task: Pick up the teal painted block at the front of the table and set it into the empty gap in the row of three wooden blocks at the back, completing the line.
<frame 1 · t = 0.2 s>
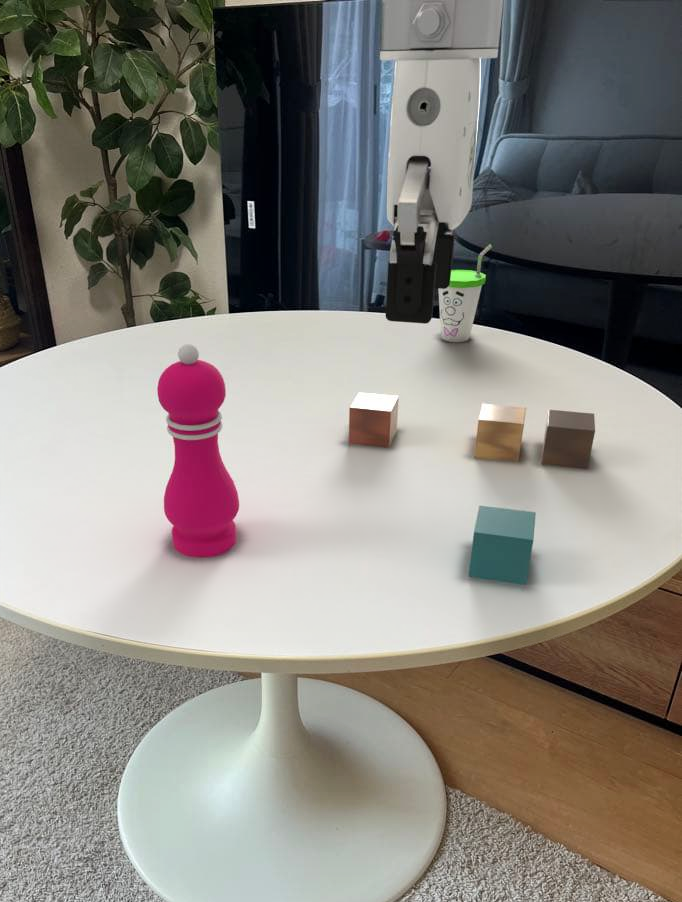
hand: (419, 302, 59), 25 cm above the table, tool pointing down, fingers open, 9 cm apart
cup: (454, 340, 130), on the table
walnut block: (563, 459, 91), on the table
oak block: (497, 452, 93), on the table
teal block: (498, 568, 73), on the table
cherry block: (372, 439, 97), on the table
pepper mill: (205, 544, 78), on the table
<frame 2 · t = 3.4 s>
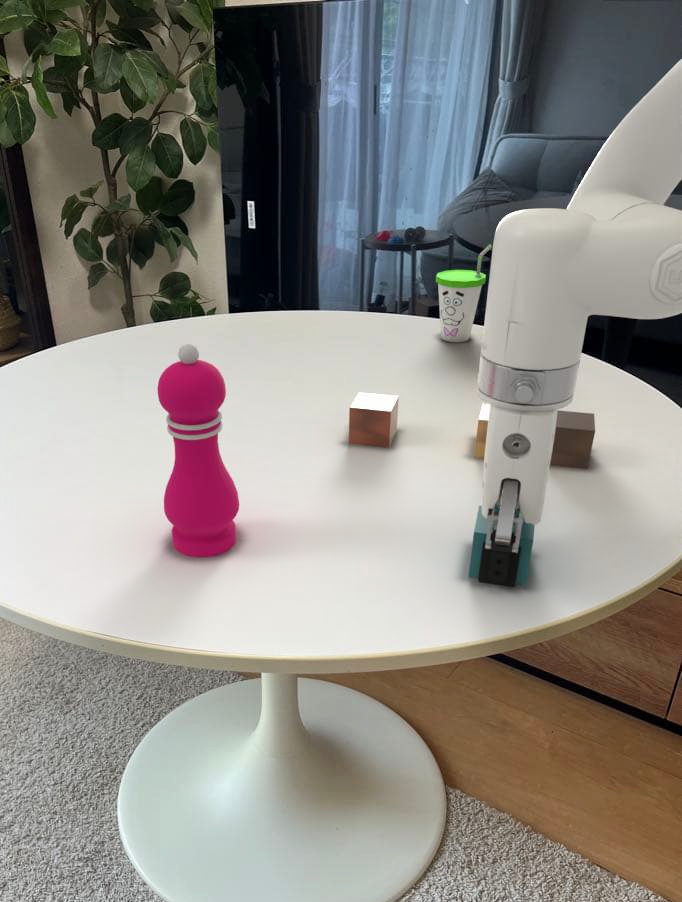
hand: (499, 564, 72), 0 cm above the table, tool pointing down, fingers closed on teal block, 5 cm apart
teal block: (498, 568, 73), on the table, touching gripper
everything else where it was.
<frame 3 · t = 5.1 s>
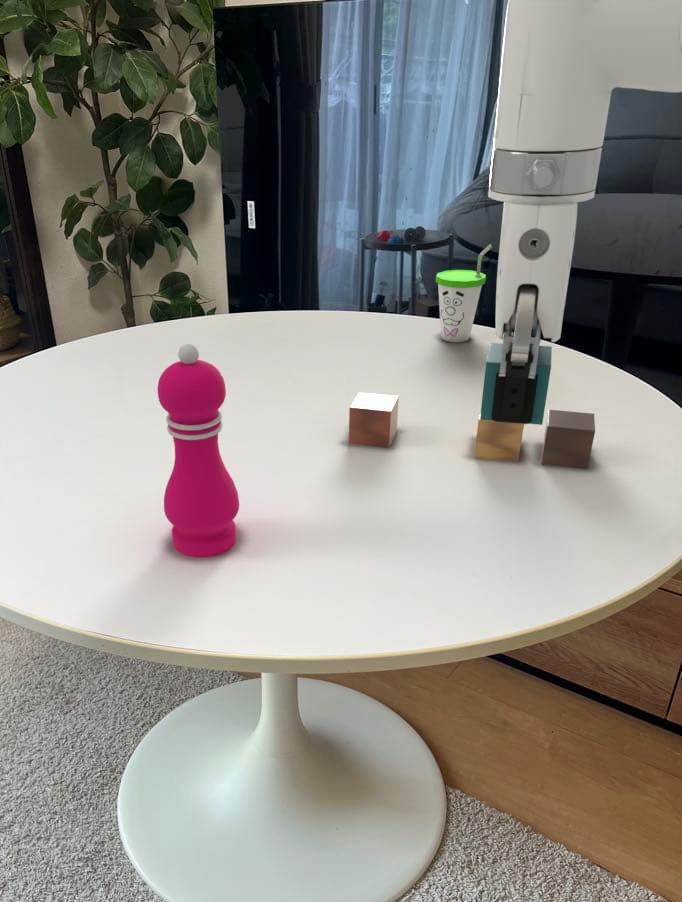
hand: (512, 406, 67), 15 cm above the table, tool pointing down, fingers closed on teal block, 5 cm apart
teal block: (512, 410, 67), point 14 cm above the table, touching gripper
everything else where it was.
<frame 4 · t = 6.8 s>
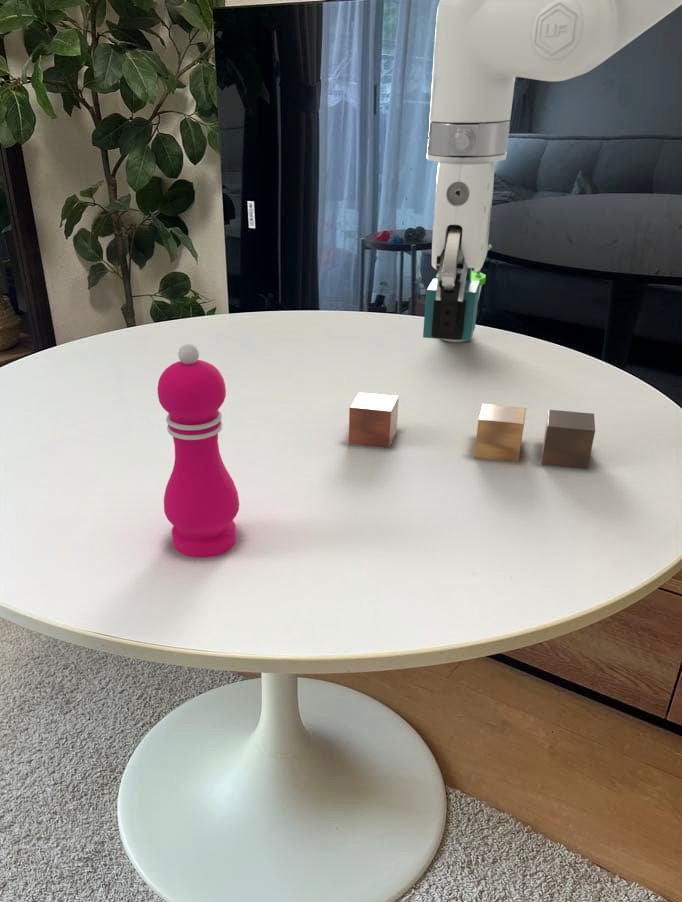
hand: (450, 328, 85), 15 cm above the table, tool pointing down, fingers closed on teal block, 5 cm apart
teal block: (449, 332, 85), point 15 cm above the table, touching gripper
everything else where it was.
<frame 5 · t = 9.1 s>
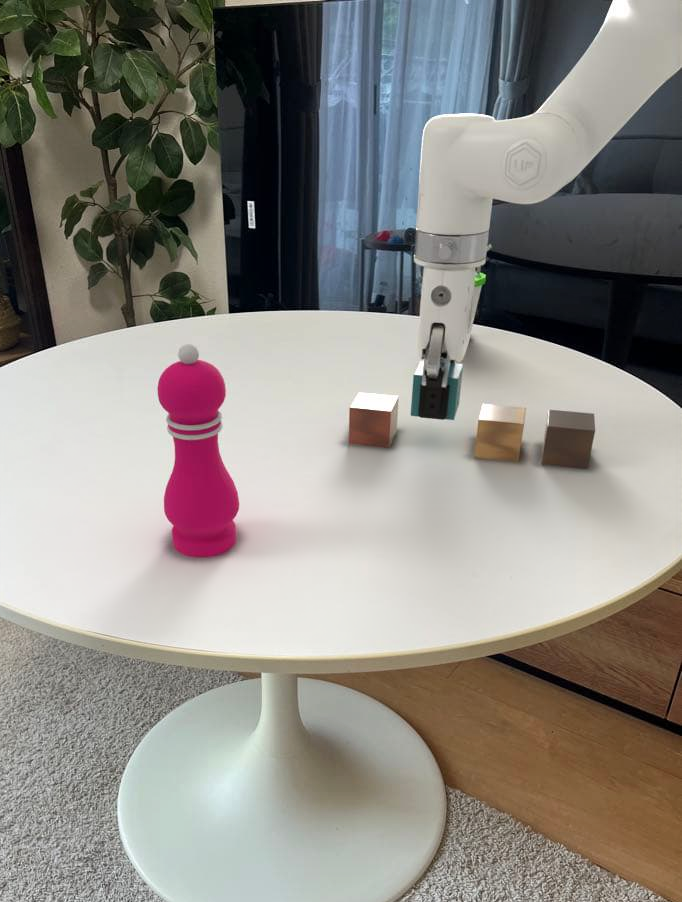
hand: (435, 406, 93), 5 cm above the table, tool pointing down, fingers closed on teal block, 5 cm apart
teal block: (435, 410, 93), point 5 cm above the table, touching gripper
everything else where it was.
when the fingers open (0 cm above the table, at t = 10.6 s): teal block stays where it is, on the table.
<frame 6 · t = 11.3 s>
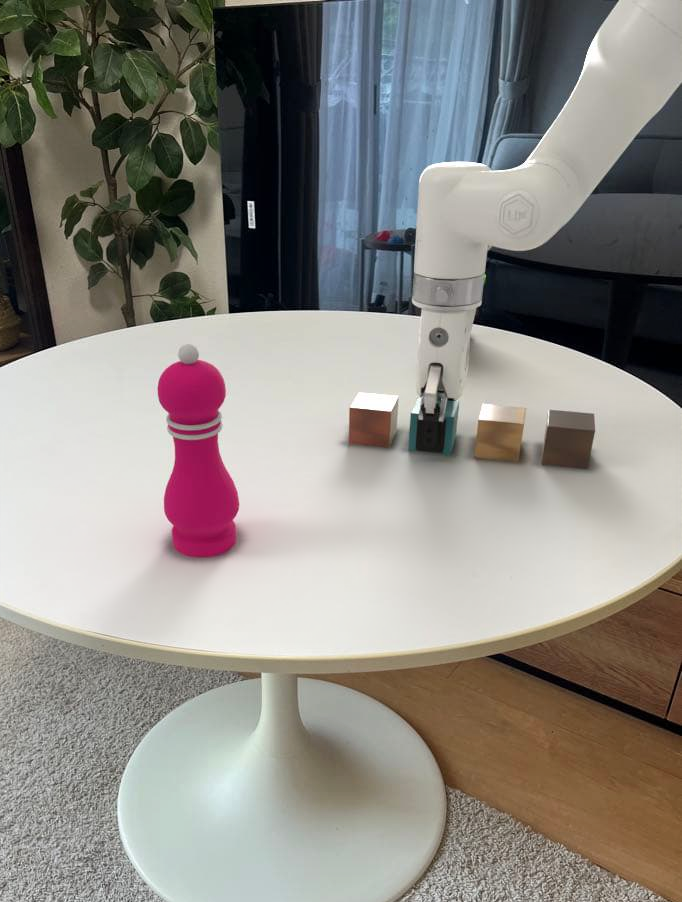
hand: (435, 434, 94), 2 cm above the table, tool pointing down, fingers open, 9 cm apart
teal block: (432, 445, 95), on the table
everything else where it was.
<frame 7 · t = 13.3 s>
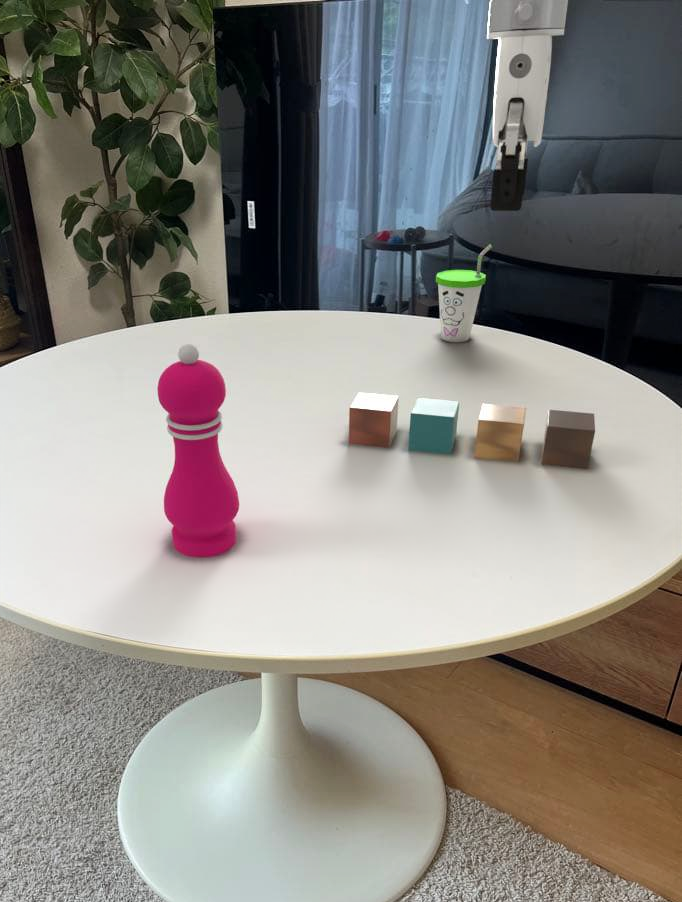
hand: (507, 203, 88), 26 cm above the table, tool pointing down, fingers open, 9 cm apart
nothing on the table moved.
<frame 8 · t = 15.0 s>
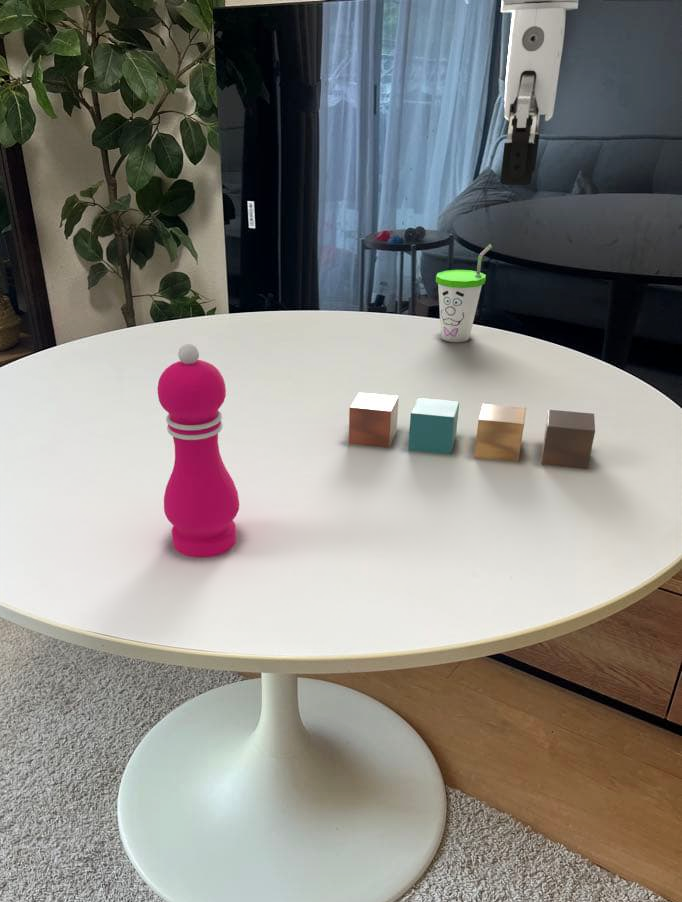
hand: (517, 178, 89), 28 cm above the table, tool pointing down, fingers open, 9 cm apart
nothing on the table moved.
at the end: teal block 0.2 cm from the target spot on the table beside the oak block, on the table; teal block tilted 0°; cherry block moved 0.0 cm from its start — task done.
